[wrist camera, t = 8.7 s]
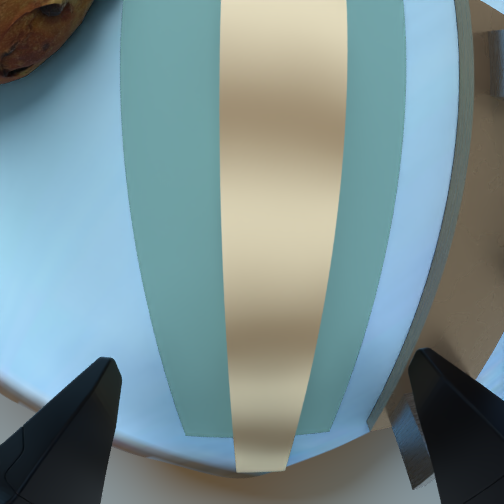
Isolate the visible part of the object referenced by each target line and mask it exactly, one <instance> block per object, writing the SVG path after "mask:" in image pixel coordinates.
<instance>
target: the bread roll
mask: <svg viewBox="0 0 504 504" xmlns="http://www.w3.org/2000/svg"><path fill="white" fill-rule="evenodd" d="M93 1H94V0H0V84H5V83H8V82H11V81H14V80H17V79H20V78H22V77H25V76H27V75H28V74H29V73H31V72H32V71H33V70H35V69H36V68H37V67H38V66H39V65H41V64H42V63H43V62H44V61H45V60H46V59H48V58H49V57H50V56H51V55H52V54H54V53H55V52H56V51H57V50H58V49H59V48H60V47H61V46H62V45H63V44H64V43H65V41H66V40H67V39H68V38H69V37H70V36H71V34H72V33H73V32H74V31H75V30H76V29H77V27H78V26H79V25H80V24H81V23H82V21H83V19H84V17H85V15H86V13H87V11H88V10H89V8H90V6H91V4H92V3H93Z"/></svg>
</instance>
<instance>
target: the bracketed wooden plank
mask: <svg viewBox="0 0 504 504" xmlns="http://www.w3.org/2000/svg"><path fill="white" fill-rule="evenodd" d="M455 7H456V16H457V26H458V39H459V64H460V86H459V112H458V126H457V137H456V146H455V155H454V162H453V169H452V176H451V182H450V188H449V193H448V199H447V204H446V209H445V213H444V218H443V223H442V227H441V231H440V235H439V239H438V243H437V247H436V251H435V255H434V258H433V262H432V265H431V269H430V272H429V275H428V279H427V282H426V285H425V288H424V291H423V294H422V297H421V300H420V303H419V306H418V309H417V311H416V314H415V317H414V320H413V322H412V325H411V328H410V330H409V333H408V335H407V338H406V340H405V343H404V345H403V347H402V350H401V352H400V354H399V357H398V359H397V361H396V364H395V366H394V368H393V370H392V372H391V375H390V377H389V379H388V381H387V383H386V385H385V387H384V389H383V391H382V393H381V395H380V397H379V399H378V401H377V403H376V405H375V407H374V409H373V411H372V412H371V414H370V416H369V418H368V420H367V424H368V427H369V430H370V432H372V431H377V430H381V429H386V428H390V427H392V429H393V432H394V435H395V437H396V440H397V443H398V446H399V449H400V452H401V455H402V458H403V461H404V464H405V467H406V470H407V473H408V476H409V480H410V483H411V486H412V489H413V490H415V489H417V488H420V487H423V486H426V485H427V484H428V483H429V482H431V481H432V480H433V479H435V475H434V471H433V467H432V463H431V459H430V456H429V452H428V448H427V445H426V441H425V438H424V435H423V431H422V428H421V425H420V422H419V418H418V415H417V411H416V407H415V402H414V397H413V393H412V388H411V384H410V379H409V375H408V367H409V365H410V362H411V360H412V358H413V356H414V354H415V352H416V350H418V349H420V348H426V347H429V348H431V349H432V350H434V351H435V352H437V353H438V354H439V355H441V356H442V357H444V358H445V359H447V360H448V361H449V362H451V363H452V364H454V365H455V366H456V367H458V368H459V369H461V370H462V371H463V372H465V373H466V374H468V375H469V376H470V377H472V378H473V379H474V380H475V379H476V378H477V376H478V375H479V373H480V372H481V370H482V369H483V367H484V365H485V364H486V362H487V360H488V359H489V357H490V355H491V354H492V352H493V350H494V349H495V347H496V345H497V343H498V341H499V340H500V338H501V336H502V334H503V332H504V15H503V14H502V13H500V12H499V11H497V10H496V9H494V8H492V7H491V6H489V5H487V4H486V3H484V2H482V1H480V0H455Z"/></svg>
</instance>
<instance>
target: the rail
mask: <svg viewBox="0 0 504 504" xmlns="http://www.w3.org/2000/svg"><path fill="white" fill-rule="evenodd" d="M346 98H347V2H346V0H221V17H220V82H219V123H220V193H221V229H222V258H223V282H224V303H225V323H226V341H227V357H228V373H229V387H230V401H231V414H232V427H233V439H234V450H235V462H236V472H272V471H285V468H286V465H287V462H288V458H289V455H290V451H291V448H292V444H293V441H294V437H295V433H296V430H297V426H298V422H299V418H300V414H301V410H302V406H303V402H304V398H305V394H306V390H307V386H308V381H309V377H310V372H311V368H312V363H313V359H314V354H315V349H316V344H317V339H318V334H319V329H320V324H321V318H322V313H323V307H324V302H325V296H326V290H327V284H328V278H329V271H330V265H331V258H332V251H333V244H334V237H335V229H336V221H337V212H338V204H339V194H340V185H341V174H342V163H343V150H344V136H345V120H346Z"/></svg>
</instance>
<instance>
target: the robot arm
mask: <svg viewBox="0 0 504 504" xmlns="http://www.w3.org/2000/svg"><path fill="white" fill-rule="evenodd" d="M408 375H409V379H410V384H411V388H412V393H413V397H414V402H415V407H416V411H417V415H418V418H419V422H420V425H421V428H422V431H423V435H424V438H425V441H426V445H427V448H428V452H429V456H430V459H431V463H432V467H433V471H434V475H435V479H436V483H437V487H438V491H439V496H440V500H441V504H504V401H503V400H502V399H501V398H499V397H498V396H496V395H495V394H494V393H492V392H491V391H490V390H488V389H487V388H485V387H484V386H483V385H481V384H480V383H479V382H477V381H476V380H474V379H473V378H472V377H470V376H469V375H468V374H466V373H465V372H463V371H462V370H461V369H459V368H458V367H456V366H455V365H454V364H452V363H451V362H449V361H448V360H447V359H445V358H444V357H442V356H441V355H439V354H438V353H437V352H435V351H434V350H432V349H431V348H429V347H426V348H420V349H418V350H416V352H415V354H414V356H413V358H412V360H411V362H410V365H409V367H408ZM121 385H122V377H121V374H120V372H119V369H118V367H117V365H116V362H115V360H114V359H113V358H109V357H100V358H98V359H97V360H96V361H95V362H93V363H92V364H91V365H90V366H89V367H88V368H87V369H85V370H84V371H83V372H82V373H81V374H80V375H79V376H78V377H76V378H75V379H74V380H73V381H72V382H71V383H70V384H68V385H67V386H66V387H65V388H64V389H63V390H62V391H61V392H59V393H58V394H57V395H56V396H55V397H54V398H53V399H52V400H50V401H49V402H48V403H47V404H46V405H45V406H44V407H43V408H42V409H40V410H39V411H38V412H37V413H36V414H35V415H34V416H33V417H32V418H31V419H29V421H27V422H26V423H25V424H24V425H23V427H20V428H19V429H18V430H17V431H16V432H15V433H14V434H13V435H12V436H10V437H9V438H8V439H7V440H6V441H5V442H4V443H2V444H1V445H0V504H100V503H101V497H102V491H103V486H104V480H105V475H106V470H107V465H108V460H109V456H110V451H111V446H112V442H113V438H114V433H115V429H116V423H117V415H118V407H119V399H120V392H121Z"/></svg>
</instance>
